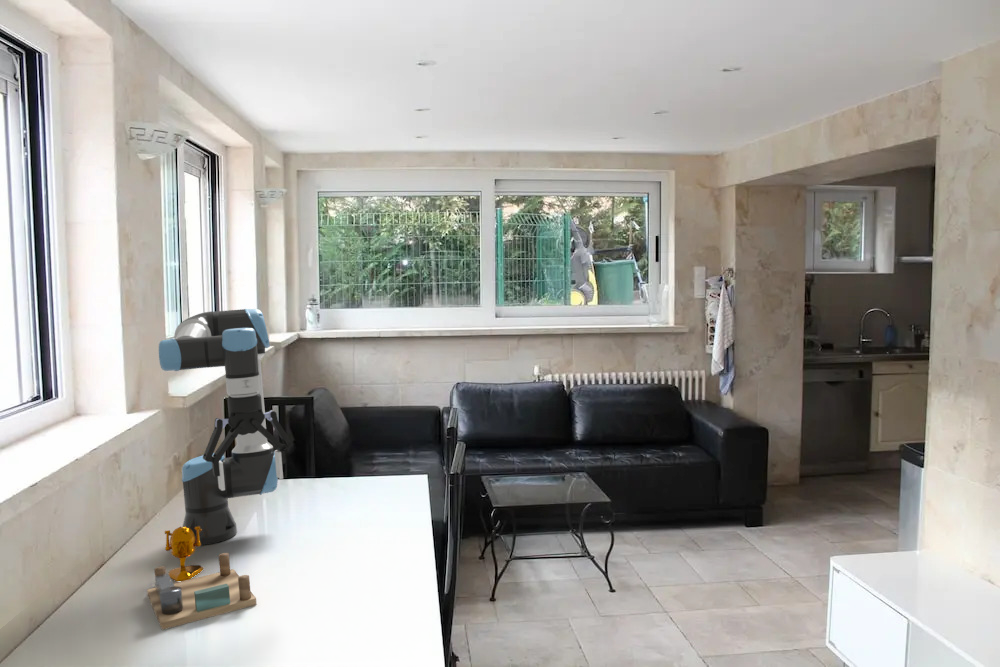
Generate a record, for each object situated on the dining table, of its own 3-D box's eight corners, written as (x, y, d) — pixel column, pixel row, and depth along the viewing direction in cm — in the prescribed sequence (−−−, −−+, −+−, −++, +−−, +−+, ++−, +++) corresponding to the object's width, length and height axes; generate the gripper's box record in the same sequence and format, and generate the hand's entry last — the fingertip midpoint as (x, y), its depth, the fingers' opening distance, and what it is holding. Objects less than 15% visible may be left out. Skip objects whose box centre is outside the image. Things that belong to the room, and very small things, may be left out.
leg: (184, 610, 174) (182, 591, 173) (163, 616, 172) (161, 596, 171) (173, 588, 187) (171, 570, 186) (153, 593, 185) (151, 574, 184)
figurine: (205, 563, 207) (201, 518, 206) (201, 578, 197) (197, 531, 195) (170, 568, 205) (165, 523, 203) (164, 584, 194) (160, 536, 193)
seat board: (147, 595, 188) (145, 569, 187) (234, 574, 198) (231, 549, 197) (162, 629, 169) (159, 600, 168) (256, 604, 179) (254, 576, 179)
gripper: (191, 404, 174) (200, 497, 176) (301, 388, 188) (308, 476, 190) (184, 400, 181) (192, 490, 183) (290, 385, 194) (297, 470, 196)
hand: (251, 483), depth 186 cm, fingers open, 13 cm apart
